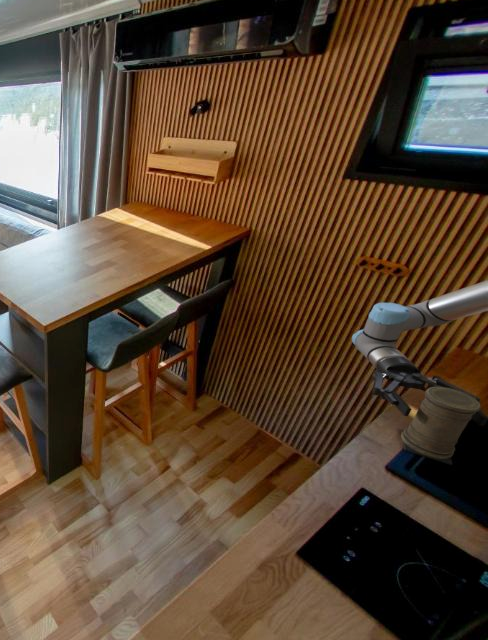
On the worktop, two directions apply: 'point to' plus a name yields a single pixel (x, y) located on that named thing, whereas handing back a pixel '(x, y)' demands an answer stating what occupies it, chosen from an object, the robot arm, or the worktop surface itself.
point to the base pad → (406, 448)
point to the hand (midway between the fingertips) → (444, 417)
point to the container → (439, 422)
